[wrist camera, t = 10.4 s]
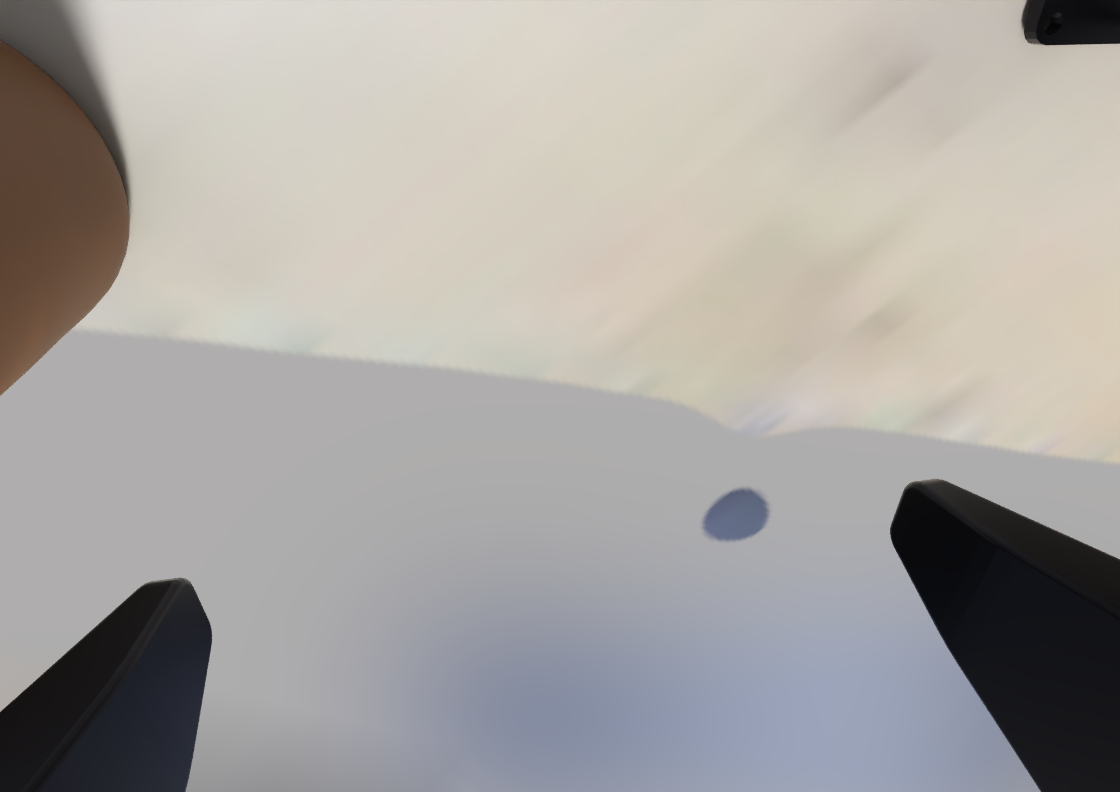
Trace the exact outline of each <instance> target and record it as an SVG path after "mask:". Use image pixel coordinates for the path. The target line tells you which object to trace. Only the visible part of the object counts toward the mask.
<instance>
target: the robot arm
mask: <svg viewBox="0 0 1120 792" xmlns="http://www.w3.org/2000/svg"><path fill="white" fill-rule="evenodd" d="M1049 17H1051V19H1050V24H1049V26H1048V28H1047V29H1046V30H1044V29H1045V23H1046V22H1047V20H1048V18H1049ZM1024 35H1025V39H1026V40H1027V41H1028V42H1029V43H1031V44H1037V45H1076V44H1120V0H1033V2H1032V5H1031V8H1030V11H1029V14H1028V17H1027V20H1026V23H1025V29H1024ZM890 534H891V540H892V543H893V546H894V548H895V550H896V552H897V553H898V555H899V557H900V559H901V561H902V563H903V565H904V567H905V569H906V570H907V573H908V574H909V576H910V578H911V580H912V582H913V584H914V586H915V588H916V590H917V592H918V593H919V595H920V597H921V599H922V601H923V603H924V605H925V607H926V609H927V611H928V613H929V614H930V616H931V618H932V620H933V622H934V624H935V626H936V628H937V630H938V631H939V633H940V635H941V637H942V638H943V640H944V642H945V644H946V646H947V648H948V649H949V651H950V652H951V654H952V656H953V657H954V659H955V660H956V662H957V664H958V665H959V667H960V668H961V670H962V671H963V673H964V674H965V676H966V678H967V679H968V680H969V682H970V684H971V685H972V687H973V688H974V690H975V691H976V693H977V694H978V696H979V697H980V699H981V701H982V702H983V704H984V705H985V706H986V708H987V710H988V711H989V713H990V714H991V716H992V717H993V719H994V720H995V722H996V723H997V725H998V727H999V728H1000V730H1001V731H1002V732H1003V734H1004V736H1005V737H1006V739H1007V740H1008V742H1009V743H1010V745H1011V747H1012V748H1013V750H1014V751H1015V753H1016V754H1017V756H1018V757H1019V759H1020V760H1021V762H1022V763H1023V765H1024V767H1025V768H1026V769H1027V771H1028V773H1029V774H1030V776H1031V777H1032V779H1033V780H1034V782H1035V783H1036V785H1037V786H1038V788H1039V790H1040V791H1041V792H1120V559H1118V558H1116V557H1113V556H1111V555H1109V554H1106V553H1105V552H1102V551H1100V550H1098V549H1095V548H1093V547H1091V546H1089V545H1087V544H1084V543H1082V542H1080V541H1078V540H1076V539H1073V538H1071V537H1069V536H1067V535H1064V534H1062V533H1060V532H1058V531H1055V530H1053V529H1051V528H1049V527H1047V526H1044V525H1042V524H1040V523H1038V522H1036V521H1034V520H1031V519H1029V518H1027V517H1025V516H1022V515H1020V514H1018V513H1016V512H1014V511H1011V510H1009V509H1007V508H1005V507H1002V506H1000V505H998V504H996V503H994V502H991V501H989V500H987V499H985V498H982V497H980V496H978V495H976V494H973V493H971V492H969V491H967V490H965V489H962V488H960V487H958V486H956V485H953V484H951V483H949V482H947V481H944V480H940V479H931V480H924V481H916V482H912V483H909V484H908V485H907V486H906V487H905V489H904V491H903V493H902V496H901V499H900V502H899V504H898V507H897V510H896V513H895V515H894V518H893V521H892V524H891V528H890ZM211 644H212V631H211V625H210V622H209V620H208V618H207V616H206V613H205V611H204V609H203V607H202V605H201V603H200V600H199V598H198V596H197V594H196V592H195V590H194V587H193V586H192V584H191V582H190V581H188V580H187V579H185V578H174V579H167V580H159V581H152V582H149V583H146V584H144V585H143V586H141V587H140V588H139V589H137V590H136V591H135V592H134V593H133V594H132V595H131V596H130V597H128V598H127V599H126V600H125V601H124V602H123V603H122V604H121V605H120V606H118V607H117V608H116V609H115V610H114V611H113V612H112V613H111V614H109V615H108V616H107V617H106V618H105V619H104V620H103V621H102V622H100V623H99V624H98V625H97V626H96V627H95V628H94V629H93V630H91V631H90V632H89V633H88V634H87V635H86V636H85V637H84V638H83V639H81V640H80V641H79V642H78V643H77V644H76V645H75V646H74V647H73V648H71V649H70V650H69V651H68V652H67V653H66V654H65V655H64V656H62V658H60V659H59V660H58V661H57V662H56V663H55V664H53V665H52V666H51V667H50V668H49V669H48V670H47V671H46V672H45V673H44V674H42V675H41V676H40V677H39V678H38V679H37V680H36V681H35V682H33V684H31V685H30V686H29V687H28V688H27V689H25V690H24V691H23V692H22V693H21V694H20V695H19V696H18V697H17V698H16V699H15V700H13V701H12V702H11V703H10V704H9V705H8V706H6V707H5V708H4V709H3V710H2V711H1V712H0V792H185V791H186V787H187V783H188V779H189V774H190V769H191V764H192V759H193V752H194V747H195V741H196V735H197V729H198V723H199V717H200V710H201V705H202V699H203V693H204V687H205V681H206V675H207V668H208V663H209V657H210V651H211Z"/></svg>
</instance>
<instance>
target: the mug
mask: <svg viewBox="0 0 1120 792" xmlns="http://www.w3.org/2000/svg"><path fill="white" fill-rule="evenodd" d="M128 239H129V211H128V204H127V197H126V194H125V190H124V187H123V183H122V180H121V177H120V174H119V172H118V169H117V167H116V165H115V162H114V160H113V158H112V156H111V154H110V152H109V150H108V148H107V147H106V145H105V143H104V141H103V140H102V138H101V136H100V134H99V133H98V132H97V130H96V129H95V127H94V126H93V125H92V123H91V122H90V120H89V119H88V118H87V116H86V115H85V114H84V112H83V111H82V110H81V109H80V108H79V107H78V106H77V104H76V103H75V102H74V101H73V100H72V99H71V97H70V96H69V95H68V94H67V93H66V92H65V91H64V90H63V89H62V88H61V87H60V86H59V85H58V84H57V83H56V82H54V81H53V80H52V79H51V78H50V77H49V76H48V75H47V74H46V73H45V72H44V71H42V70H41V69H40V68H39V67H37V66H36V65H35V64H34V63H32V62H31V61H30V60H28V59H27V58H26V57H25V56H23V55H22V54H21V53H19V52H18V51H16V50H14V49H13V48H11V47H10V46H8V45H7V44H5V43H4V42H2V41H1V40H0V395H1V394H3V393H4V392H5V391H6V390H7V389H8V388H9V387H10V386H11V385H13V383H15V382H16V381H17V380H18V379H19V378H20V377H21V376H22V375H23V374H25V373H26V372H27V371H28V370H29V369H30V368H31V367H32V366H33V365H34V364H35V363H36V362H37V361H38V360H39V359H40V358H41V357H42V356H43V355H44V354H45V353H47V351H49V350H50V349H51V348H52V347H53V345H55V344H56V343H57V342H58V341H59V340H60V339H61V338H62V337H63V336H64V335H65V334H66V333H67V332H68V331H70V330H71V329H72V328H73V327H74V326H75V325H76V324H77V323H78V322H79V321H81V320H82V319H83V318H84V317H85V316H86V315H87V314H88V313H89V312H90V311H91V310H92V309H93V308H94V307H95V306H96V304H97V303H98V302H99V301H100V300H101V299H102V297H103V296H104V295H105V294H106V293H107V292H108V290H109V289H110V287H111V286H112V284H113V282H114V281H115V279H116V277H117V275H118V273H119V271H120V268H121V266H122V263H123V260H124V257H125V255H126V251H127V245H128Z"/></svg>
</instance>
